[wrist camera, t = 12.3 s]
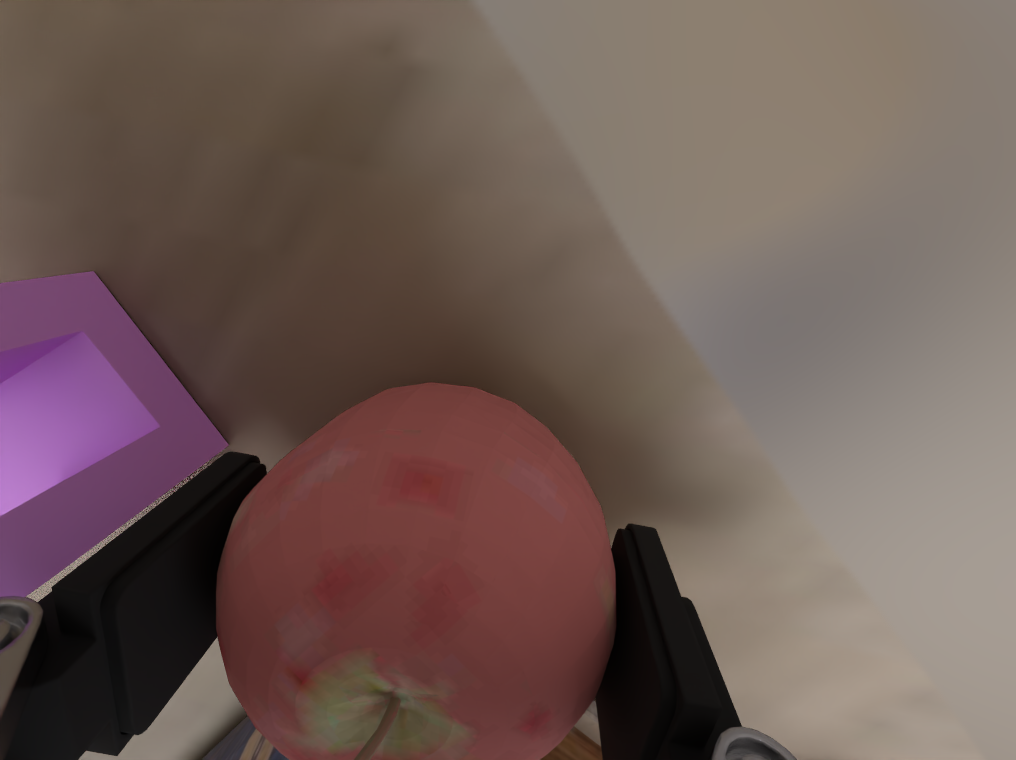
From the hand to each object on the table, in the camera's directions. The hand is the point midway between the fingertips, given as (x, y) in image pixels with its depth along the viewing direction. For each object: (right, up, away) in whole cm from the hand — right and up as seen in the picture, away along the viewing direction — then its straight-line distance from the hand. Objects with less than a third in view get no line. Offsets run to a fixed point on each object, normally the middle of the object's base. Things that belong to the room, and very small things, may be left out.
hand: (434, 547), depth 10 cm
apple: (0, +1, +3) cm, 4 cm away
